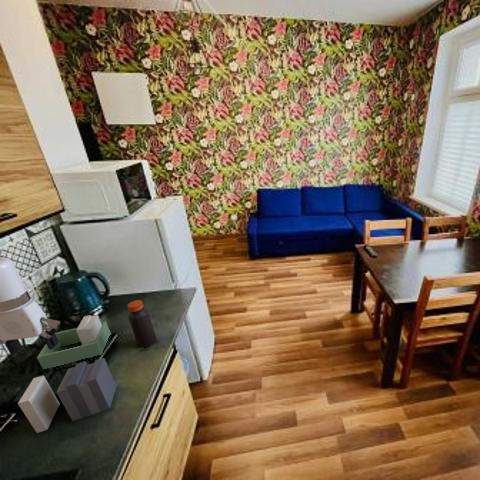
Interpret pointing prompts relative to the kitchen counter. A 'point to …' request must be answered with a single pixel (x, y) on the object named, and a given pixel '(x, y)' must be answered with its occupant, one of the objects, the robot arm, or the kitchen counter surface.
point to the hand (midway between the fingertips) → (35, 348)
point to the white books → (89, 329)
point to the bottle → (141, 324)
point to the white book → (39, 404)
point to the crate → (66, 356)
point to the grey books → (87, 389)
